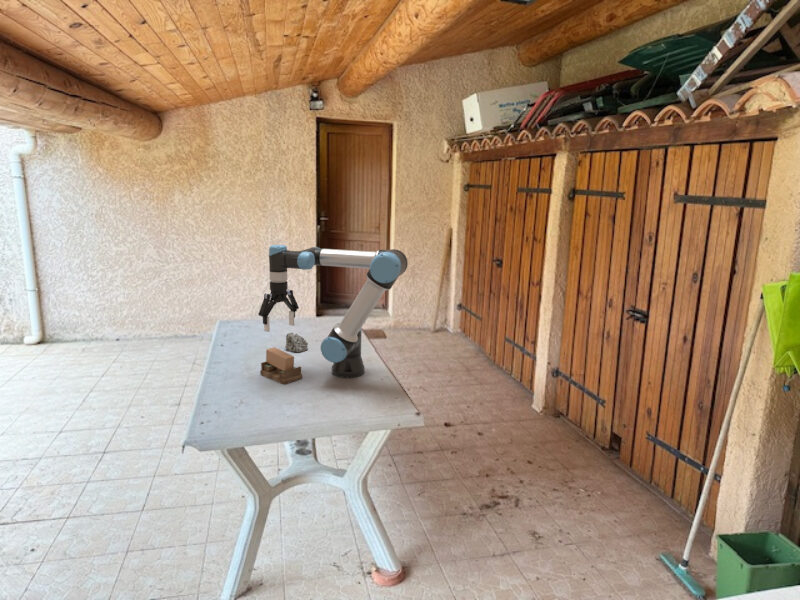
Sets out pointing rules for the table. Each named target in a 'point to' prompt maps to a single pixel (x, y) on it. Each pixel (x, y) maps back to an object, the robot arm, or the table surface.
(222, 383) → the table surface
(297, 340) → the rock
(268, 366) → the stand
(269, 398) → the table surface
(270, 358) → the tan rectangular block
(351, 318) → the robot arm
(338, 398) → the table surface
